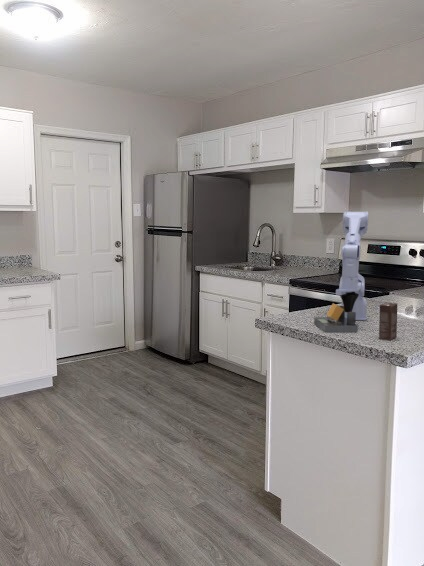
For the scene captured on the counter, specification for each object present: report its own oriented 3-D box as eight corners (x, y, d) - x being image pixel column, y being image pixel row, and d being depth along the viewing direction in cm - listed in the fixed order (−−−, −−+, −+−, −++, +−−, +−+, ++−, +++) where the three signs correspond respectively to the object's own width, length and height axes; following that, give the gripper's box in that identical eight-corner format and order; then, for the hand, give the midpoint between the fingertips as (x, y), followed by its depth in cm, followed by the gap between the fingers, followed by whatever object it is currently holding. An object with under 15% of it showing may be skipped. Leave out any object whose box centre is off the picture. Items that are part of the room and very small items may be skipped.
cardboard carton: (331, 320, 187) (339, 306, 186) (335, 324, 181) (344, 309, 180) (324, 317, 186) (332, 303, 186) (328, 320, 181) (337, 305, 180)
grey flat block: (344, 323, 192) (344, 316, 192) (357, 332, 177) (357, 325, 177) (314, 323, 191) (314, 316, 191) (325, 332, 176) (325, 325, 176)
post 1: (343, 316, 192) (343, 305, 191) (345, 318, 189) (346, 307, 188) (335, 316, 191) (336, 305, 191) (338, 318, 188) (338, 307, 188)
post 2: (353, 323, 180) (354, 311, 179) (356, 325, 177) (357, 313, 176) (345, 323, 179) (346, 311, 179) (348, 325, 177) (348, 313, 176)
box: (384, 335, 173) (385, 302, 171) (396, 337, 170) (398, 303, 168) (377, 338, 168) (379, 304, 167) (390, 340, 165) (392, 305, 164)
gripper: (351, 274, 189) (350, 308, 191) (329, 276, 180) (327, 312, 182) (367, 275, 184) (366, 311, 186) (345, 278, 175) (344, 316, 177)
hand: (348, 312), depth 184 cm, fingers closed
